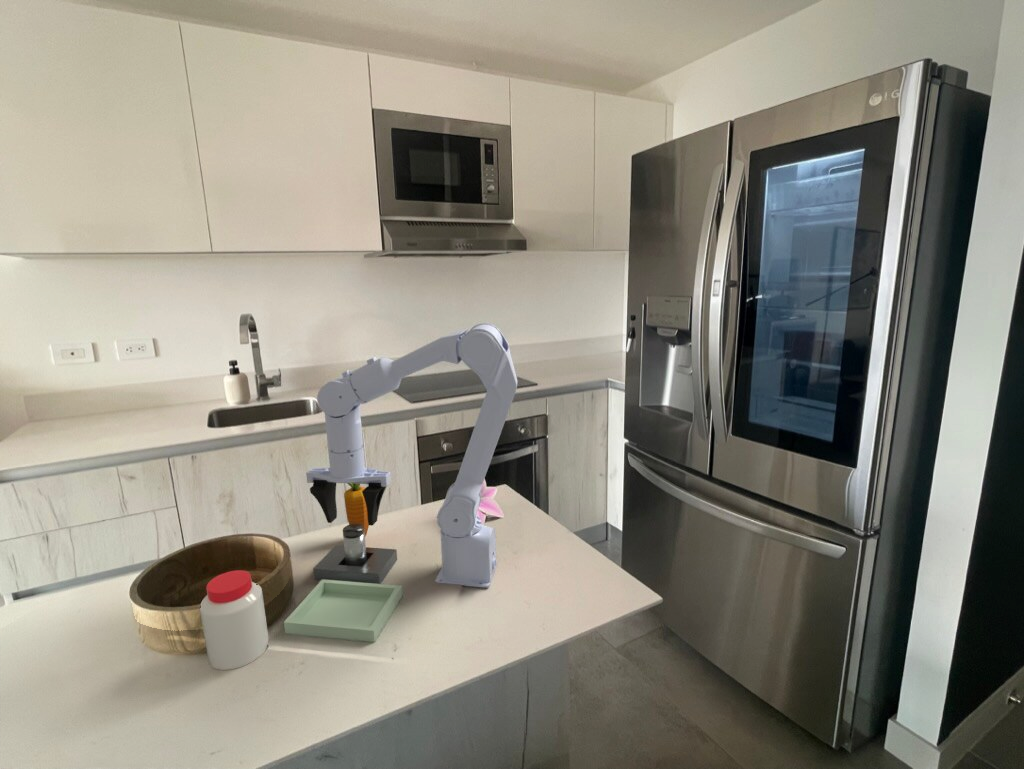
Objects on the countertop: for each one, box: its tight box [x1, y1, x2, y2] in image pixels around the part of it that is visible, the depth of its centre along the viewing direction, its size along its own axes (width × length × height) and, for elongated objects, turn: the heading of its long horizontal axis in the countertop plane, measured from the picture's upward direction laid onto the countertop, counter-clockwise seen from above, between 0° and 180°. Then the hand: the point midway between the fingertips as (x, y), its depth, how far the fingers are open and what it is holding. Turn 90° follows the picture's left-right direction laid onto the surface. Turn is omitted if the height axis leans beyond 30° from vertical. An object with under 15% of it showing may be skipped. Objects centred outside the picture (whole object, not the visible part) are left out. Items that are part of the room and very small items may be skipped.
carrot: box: [343, 483, 370, 537], centre depth 102 cm, size 5×5×15 cm
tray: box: [283, 579, 403, 644], centre depth 81 cm, size 14×11×2 cm
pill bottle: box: [199, 569, 270, 671], centre depth 74 cm, size 8×8×11 cm
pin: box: [342, 524, 367, 567], centre depth 93 cm, size 4×4×8 cm
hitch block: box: [312, 544, 398, 584], centre depth 93 cm, size 12×8×3 cm, turn 81°
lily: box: [477, 478, 505, 525], centre depth 113 cm, size 12×12×10 cm
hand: (352, 521), depth 92 cm, fingers open, 7 cm apart
